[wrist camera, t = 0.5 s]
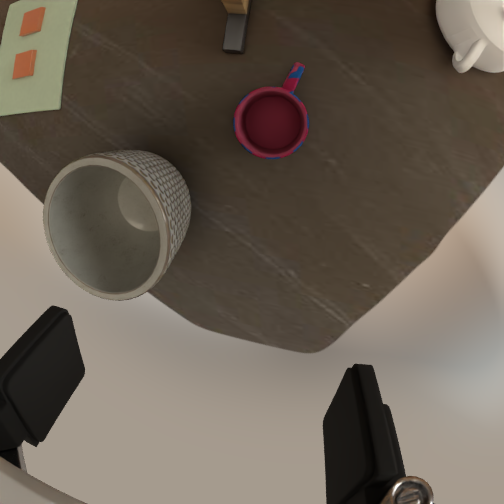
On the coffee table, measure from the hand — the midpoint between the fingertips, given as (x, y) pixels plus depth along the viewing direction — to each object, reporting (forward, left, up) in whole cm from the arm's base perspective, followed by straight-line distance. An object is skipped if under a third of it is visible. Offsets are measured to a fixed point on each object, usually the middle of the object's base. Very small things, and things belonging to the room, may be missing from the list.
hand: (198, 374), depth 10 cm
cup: (-9, +1, -29) cm, 30 cm away
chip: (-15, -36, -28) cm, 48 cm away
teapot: (-27, +23, -29) cm, 46 cm away
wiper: (-21, -5, -29) cm, 36 cm away
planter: (+3, -13, -29) cm, 32 cm away
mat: (-18, -36, -29) cm, 49 cm away
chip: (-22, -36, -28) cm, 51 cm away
